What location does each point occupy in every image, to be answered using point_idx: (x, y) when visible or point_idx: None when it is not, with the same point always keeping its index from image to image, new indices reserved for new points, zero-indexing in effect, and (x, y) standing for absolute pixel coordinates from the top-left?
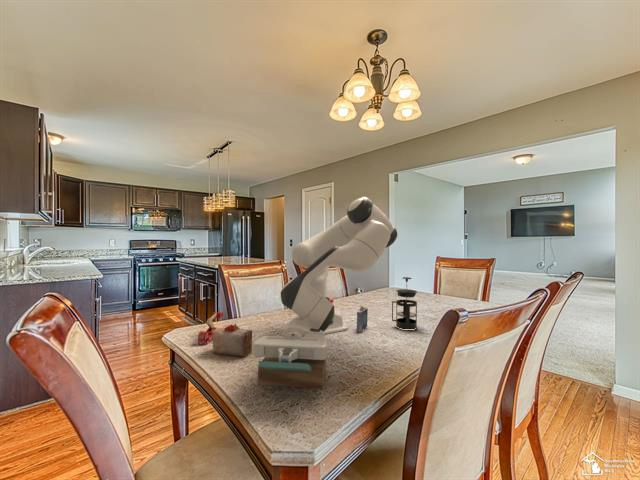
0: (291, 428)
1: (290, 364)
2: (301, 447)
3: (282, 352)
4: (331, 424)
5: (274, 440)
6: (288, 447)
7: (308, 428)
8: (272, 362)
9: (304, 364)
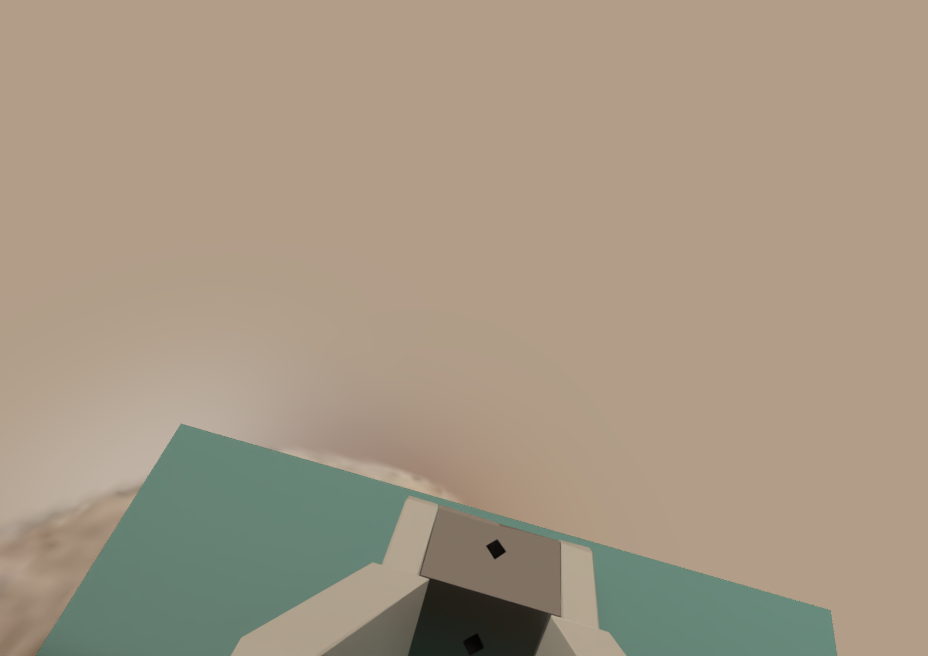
0: None
1: (396, 497)
2: (318, 460)
3: (570, 635)
4: (88, 540)
5: None
6: (372, 471)
7: None
8: (637, 557)
9: (219, 440)
